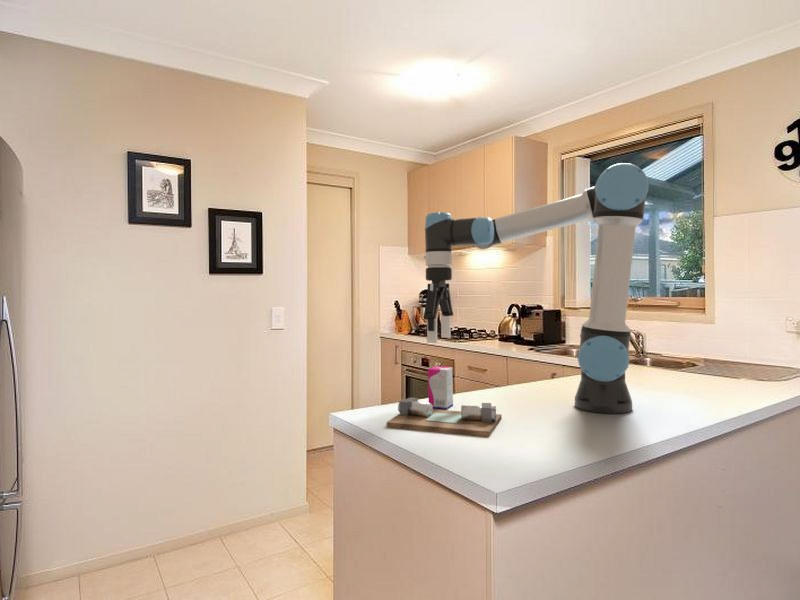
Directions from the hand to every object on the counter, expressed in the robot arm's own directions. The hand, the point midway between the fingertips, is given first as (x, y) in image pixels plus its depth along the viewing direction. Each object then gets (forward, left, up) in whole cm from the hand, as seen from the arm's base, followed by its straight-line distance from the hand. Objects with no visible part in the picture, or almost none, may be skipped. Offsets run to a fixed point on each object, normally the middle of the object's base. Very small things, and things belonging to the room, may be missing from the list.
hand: (439, 340), depth 144 cm
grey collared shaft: (-15, +15, -18) cm, 28 cm away
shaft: (+2, +15, -18) cm, 24 cm away
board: (-6, +16, -20) cm, 26 cm away
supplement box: (0, 0, -20) cm, 20 cm away
